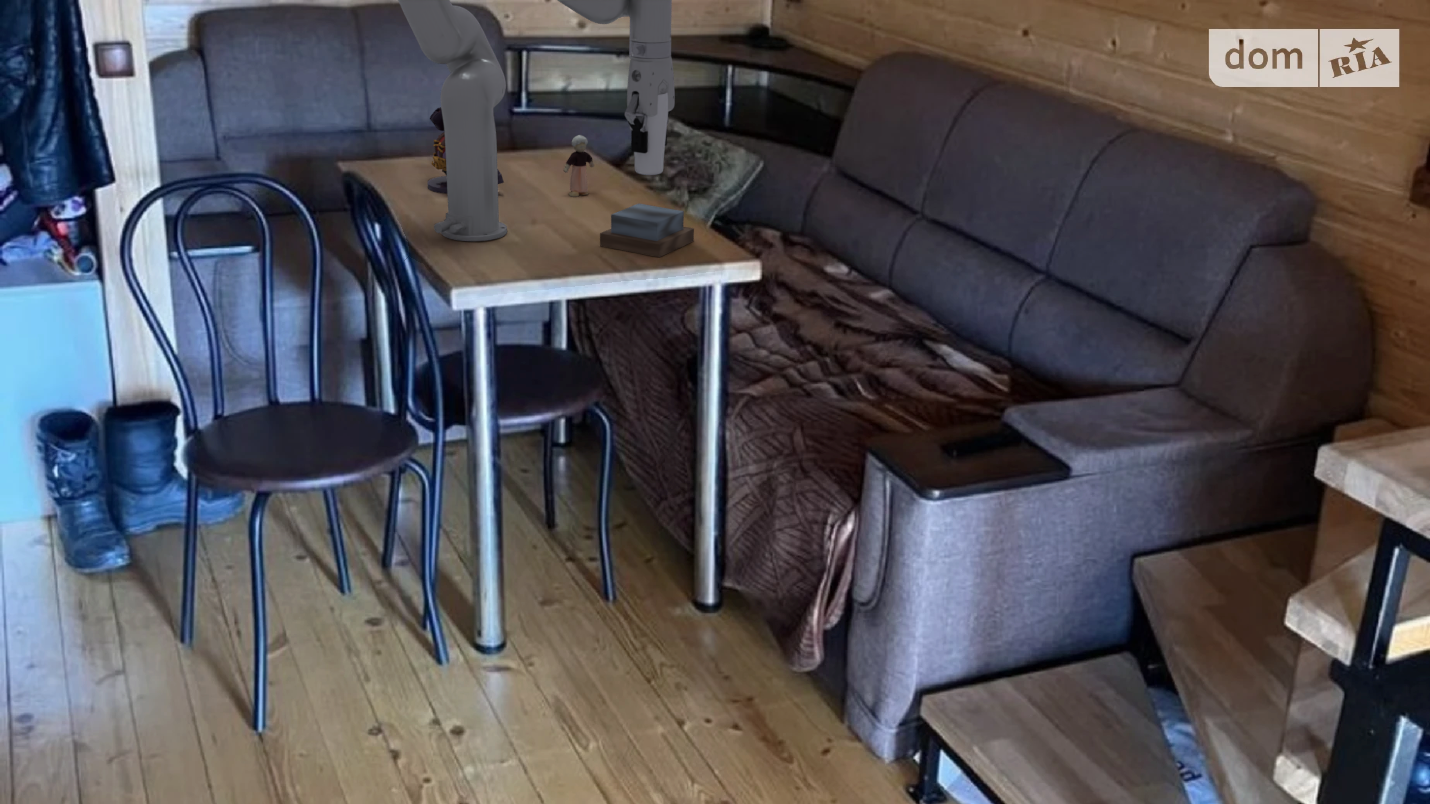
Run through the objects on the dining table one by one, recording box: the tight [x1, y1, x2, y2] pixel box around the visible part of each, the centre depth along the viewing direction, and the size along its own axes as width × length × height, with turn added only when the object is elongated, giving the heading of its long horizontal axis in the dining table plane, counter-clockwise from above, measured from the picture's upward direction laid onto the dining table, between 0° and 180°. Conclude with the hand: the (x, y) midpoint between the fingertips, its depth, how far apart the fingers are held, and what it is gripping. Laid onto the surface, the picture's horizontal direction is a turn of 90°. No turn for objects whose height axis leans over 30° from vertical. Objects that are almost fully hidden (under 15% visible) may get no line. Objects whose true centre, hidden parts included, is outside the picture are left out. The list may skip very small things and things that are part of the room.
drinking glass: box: [633, 92, 669, 176], centre depth 266 cm, size 7×7×15 cm
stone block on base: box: [599, 203, 695, 258], centre depth 273 cm, size 13×13×6 cm
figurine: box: [427, 106, 505, 195], centre depth 306 cm, size 20×14×17 cm
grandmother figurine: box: [563, 134, 595, 198], centre depth 304 cm, size 8×4×13 cm, turn 143°
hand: (649, 147), depth 267 cm, fingers closed on drinking glass, 6 cm apart
